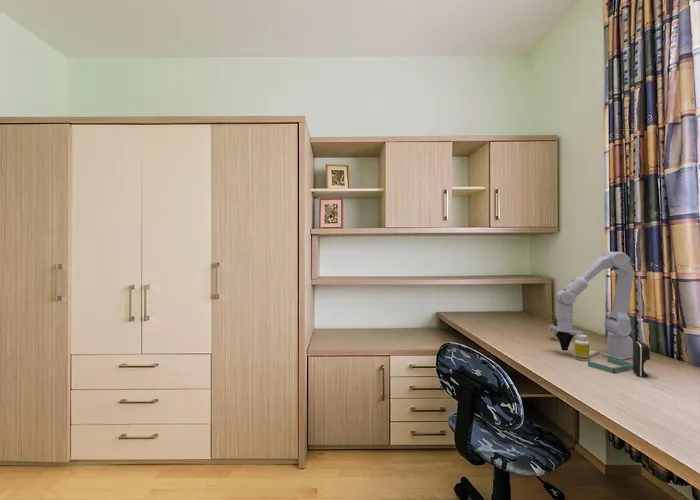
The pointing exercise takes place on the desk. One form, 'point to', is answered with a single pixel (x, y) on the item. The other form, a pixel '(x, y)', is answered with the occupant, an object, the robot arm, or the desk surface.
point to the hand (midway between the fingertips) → (564, 350)
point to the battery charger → (640, 357)
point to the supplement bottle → (581, 348)
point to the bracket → (624, 367)
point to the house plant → (555, 325)
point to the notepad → (593, 353)
